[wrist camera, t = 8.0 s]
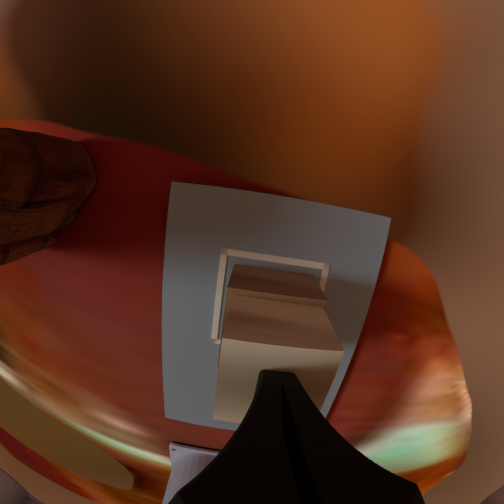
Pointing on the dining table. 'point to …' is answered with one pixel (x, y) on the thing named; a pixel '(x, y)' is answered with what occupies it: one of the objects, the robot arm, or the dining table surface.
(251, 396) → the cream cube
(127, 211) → the dining table surface
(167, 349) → the mat
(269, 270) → the walnut base block
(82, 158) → the wooden figurine
